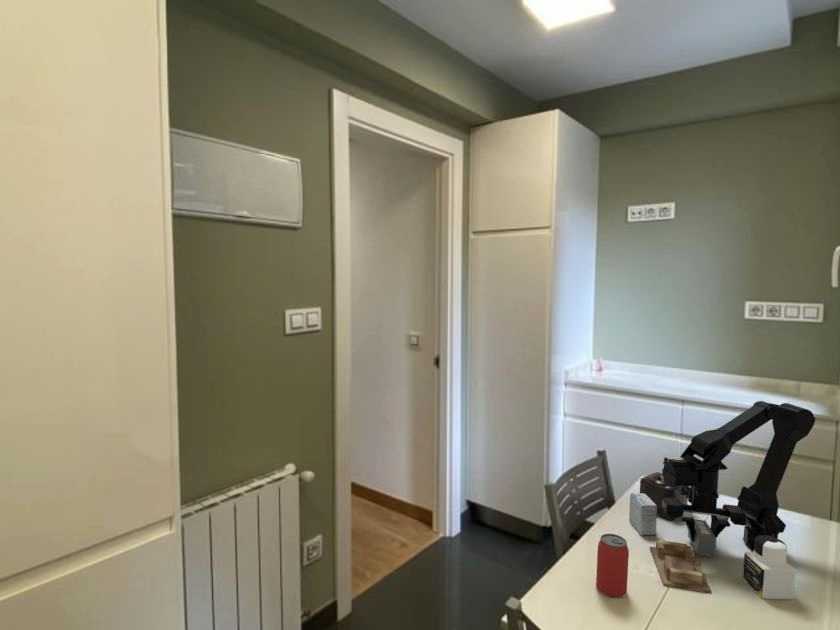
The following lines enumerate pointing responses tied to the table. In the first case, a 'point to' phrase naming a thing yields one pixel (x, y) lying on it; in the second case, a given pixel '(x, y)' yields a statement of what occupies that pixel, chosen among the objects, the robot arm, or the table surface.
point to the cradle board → (678, 566)
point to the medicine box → (643, 513)
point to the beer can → (612, 565)
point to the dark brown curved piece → (660, 491)
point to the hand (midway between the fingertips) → (701, 542)
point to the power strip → (703, 539)
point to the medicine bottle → (769, 569)
